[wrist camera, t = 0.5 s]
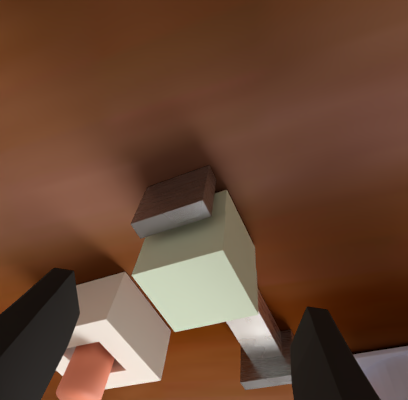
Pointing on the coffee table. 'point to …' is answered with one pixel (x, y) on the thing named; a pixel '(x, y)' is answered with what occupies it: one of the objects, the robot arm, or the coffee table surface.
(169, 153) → the coffee table surface
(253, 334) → the slide rail
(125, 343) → the box
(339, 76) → the coffee table surface
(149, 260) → the block
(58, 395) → the plunger
